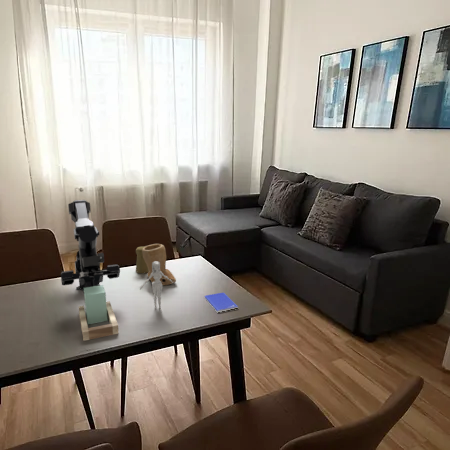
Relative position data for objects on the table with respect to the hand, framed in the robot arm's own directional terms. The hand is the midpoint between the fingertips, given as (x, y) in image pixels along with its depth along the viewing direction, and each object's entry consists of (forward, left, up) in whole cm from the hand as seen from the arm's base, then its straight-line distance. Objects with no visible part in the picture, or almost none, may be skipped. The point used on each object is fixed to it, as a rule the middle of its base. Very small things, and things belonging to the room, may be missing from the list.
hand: (94, 298), depth 121 cm
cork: (-11, +40, -7) cm, 42 cm away
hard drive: (+33, +28, -8) cm, 44 cm away
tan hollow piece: (+1, +35, -7) cm, 36 cm away
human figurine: (+16, +13, -7) cm, 22 cm away
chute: (+5, -4, -7) cm, 10 cm away
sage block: (+3, -2, -6) cm, 7 cm away
